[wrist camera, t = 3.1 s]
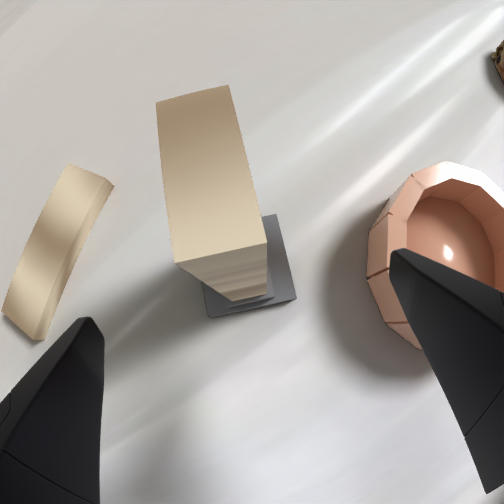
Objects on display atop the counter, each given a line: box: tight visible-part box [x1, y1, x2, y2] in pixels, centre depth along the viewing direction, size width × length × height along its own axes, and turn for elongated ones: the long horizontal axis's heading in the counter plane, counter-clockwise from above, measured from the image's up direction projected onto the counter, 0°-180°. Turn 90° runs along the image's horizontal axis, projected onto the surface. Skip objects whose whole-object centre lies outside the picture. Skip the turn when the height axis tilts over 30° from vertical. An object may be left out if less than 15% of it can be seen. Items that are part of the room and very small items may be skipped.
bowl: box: [366, 161, 504, 350], centre depth 17 cm, size 11×11×4 cm
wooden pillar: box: [156, 85, 297, 317], centre depth 13 cm, size 5×5×13 cm
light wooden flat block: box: [1, 163, 114, 340], centre depth 19 cm, size 12×4×2 cm, turn 155°
